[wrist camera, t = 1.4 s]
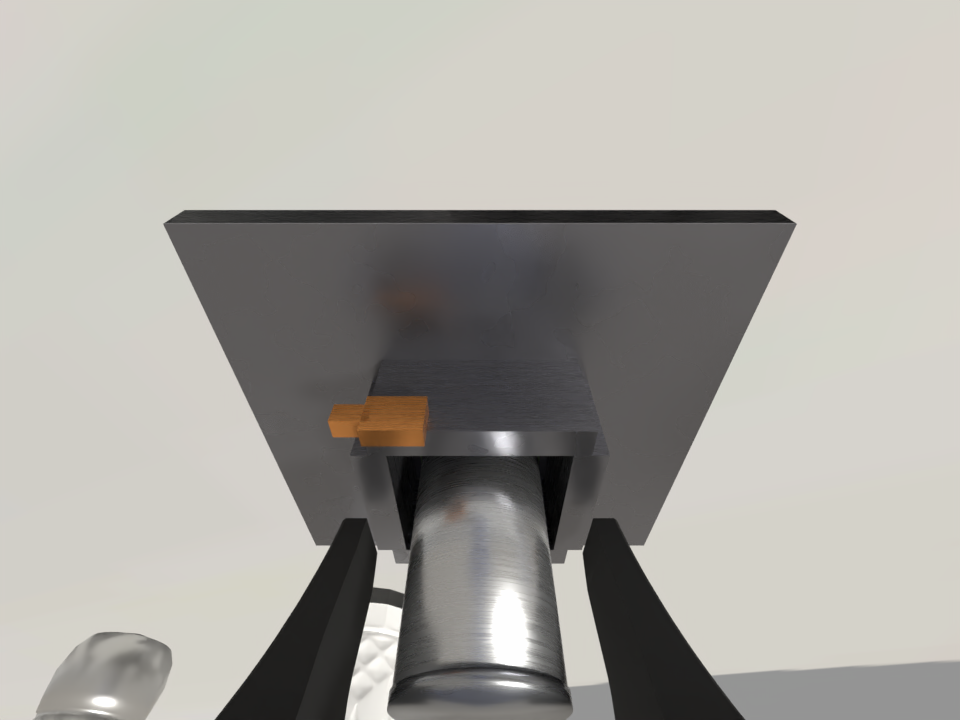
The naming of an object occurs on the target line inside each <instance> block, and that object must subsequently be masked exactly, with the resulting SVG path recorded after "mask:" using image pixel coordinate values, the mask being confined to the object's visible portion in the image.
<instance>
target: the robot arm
mask: <svg viewBox="0 0 960 720" xmlns="http://www.w3.org/2000/svg"><path fill="white" fill-rule="evenodd" d="M376 561H377V550H376V547H375V543H374V540H373V537H372V533H371V530H370V527H369V524H368V520H367V518H346V519H344V520H343V521H342V523H341V525H340V528H339V530H338V532H337V534H336V536H335V538H334V540H333V542H332V544H331V546H330V547H329V549H328V551H327V553H326V555H325V557H324V559H323V560H322V562H321V564H320V566H319V568H318V569H317V571H316V573H315V575H314V576H313V578H312V580H311V581H310V583H309V585H308V587H307V588H306V590H305V592H304V593H303V595H302V597H301V598H300V600H299V602H298V603H297V605H296V607H295V608H294V610H293V611H292V613H291V614H290V616H289V617H288V619H287V620H286V622H285V624H284V625H283V627H282V628H281V630H280V631H279V633H278V634H277V636H276V637H275V639H274V640H273V642H272V643H271V645H270V646H269V648H268V649H267V650H266V652H265V653H264V655H263V656H262V658H261V659H260V660H259V662H258V663H257V665H256V666H255V667H254V669H253V670H252V671H251V673H250V674H249V676H248V677H247V678H246V680H245V681H244V682H243V684H242V685H241V686H240V688H239V689H238V690H237V691H236V693H235V694H234V695H233V697H232V698H231V699H230V701H229V702H228V703H227V704H226V706H225V707H224V708H223V710H222V711H221V712H220V713H219V715H218V716H217V717H216V718H215V720H345V715H346V709H347V702H348V696H349V691H350V686H351V681H352V676H353V672H354V667H355V663H356V659H357V655H358V651H359V646H360V642H361V638H362V634H363V630H364V625H365V621H366V617H367V613H368V608H369V604H370V600H371V595H372V591H373V584H374V577H375V569H376ZM583 561H584V569H585V577H586V584H587V591H588V595H589V600H590V604H591V608H592V613H593V617H594V621H595V625H596V630H597V634H598V638H599V642H600V647H601V651H602V655H603V659H604V663H605V668H606V672H607V676H608V681H609V686H610V691H611V696H612V703H613V709H614V715H615V720H745V719H744V717H743V716H742V715H741V714H740V712H739V711H738V710H737V709H736V707H735V706H734V705H733V704H732V702H731V701H730V700H729V698H728V697H727V696H726V694H725V693H724V692H723V691H722V689H721V688H720V687H719V685H718V684H717V683H716V681H715V680H714V679H713V677H712V676H711V674H710V673H709V672H708V670H707V669H706V668H705V666H704V665H703V664H702V662H701V661H700V659H699V658H698V657H697V655H696V654H695V652H694V651H693V649H692V648H691V646H690V645H689V644H688V642H687V641H686V639H685V638H684V636H683V635H682V633H681V632H680V630H679V629H678V627H677V626H676V624H675V623H674V621H673V619H672V618H671V616H670V615H669V613H668V612H667V610H666V608H665V607H664V605H663V603H662V602H661V600H660V599H659V597H658V595H657V594H656V592H655V590H654V589H653V587H652V585H651V584H650V582H649V580H648V578H647V577H646V575H645V573H644V572H643V570H642V568H641V566H640V564H639V562H638V561H637V559H636V557H635V555H634V553H633V551H632V550H631V548H630V546H629V544H628V542H627V540H626V538H625V536H624V534H623V532H622V530H621V528H620V526H619V524H618V522H617V520H616V519H615V518H593V520H592V523H591V527H590V530H589V533H588V537H587V540H586V543H585V546H584V550H583Z"/></svg>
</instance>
